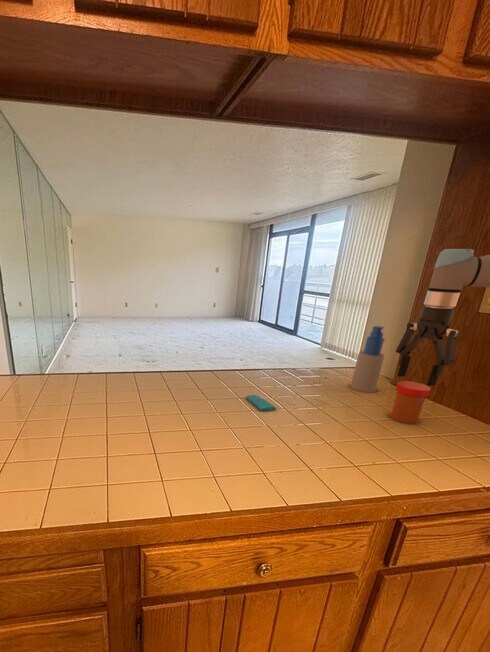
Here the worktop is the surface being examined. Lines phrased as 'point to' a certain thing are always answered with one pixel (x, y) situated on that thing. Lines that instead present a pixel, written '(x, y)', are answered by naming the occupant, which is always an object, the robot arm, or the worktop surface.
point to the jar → (407, 408)
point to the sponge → (260, 402)
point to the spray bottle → (369, 362)
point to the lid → (413, 389)
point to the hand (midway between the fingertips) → (415, 380)
